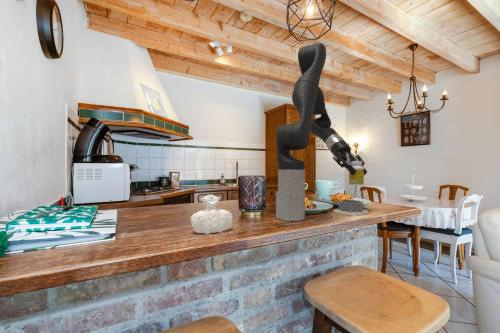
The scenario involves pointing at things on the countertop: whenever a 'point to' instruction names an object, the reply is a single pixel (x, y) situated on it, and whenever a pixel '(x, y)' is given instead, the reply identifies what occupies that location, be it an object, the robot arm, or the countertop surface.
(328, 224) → the countertop surface
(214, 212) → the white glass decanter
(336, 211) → the grey low cylinder
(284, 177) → the robot arm
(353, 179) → the beer glass
